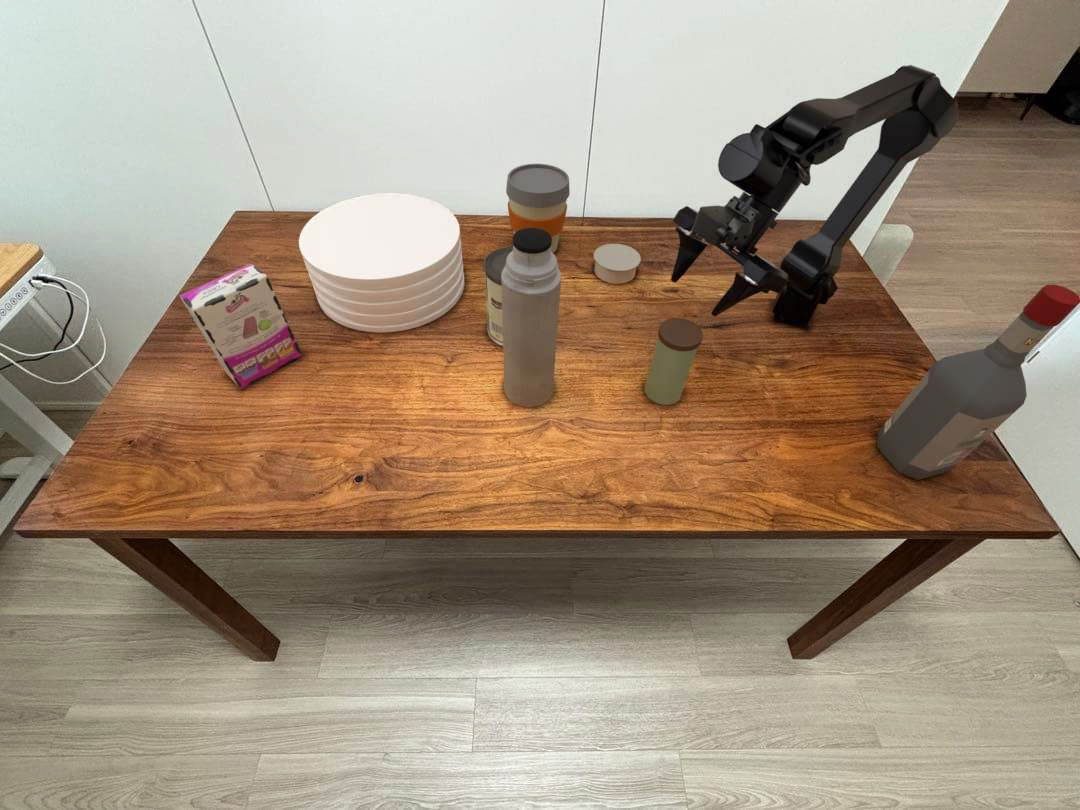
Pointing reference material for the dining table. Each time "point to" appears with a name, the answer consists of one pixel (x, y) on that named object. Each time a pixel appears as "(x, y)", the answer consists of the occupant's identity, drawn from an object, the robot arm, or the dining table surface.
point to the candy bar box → (243, 324)
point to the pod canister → (672, 360)
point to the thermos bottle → (530, 317)
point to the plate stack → (384, 261)
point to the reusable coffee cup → (538, 199)
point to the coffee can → (495, 291)
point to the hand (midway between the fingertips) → (692, 297)
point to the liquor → (969, 393)
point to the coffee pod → (616, 263)
